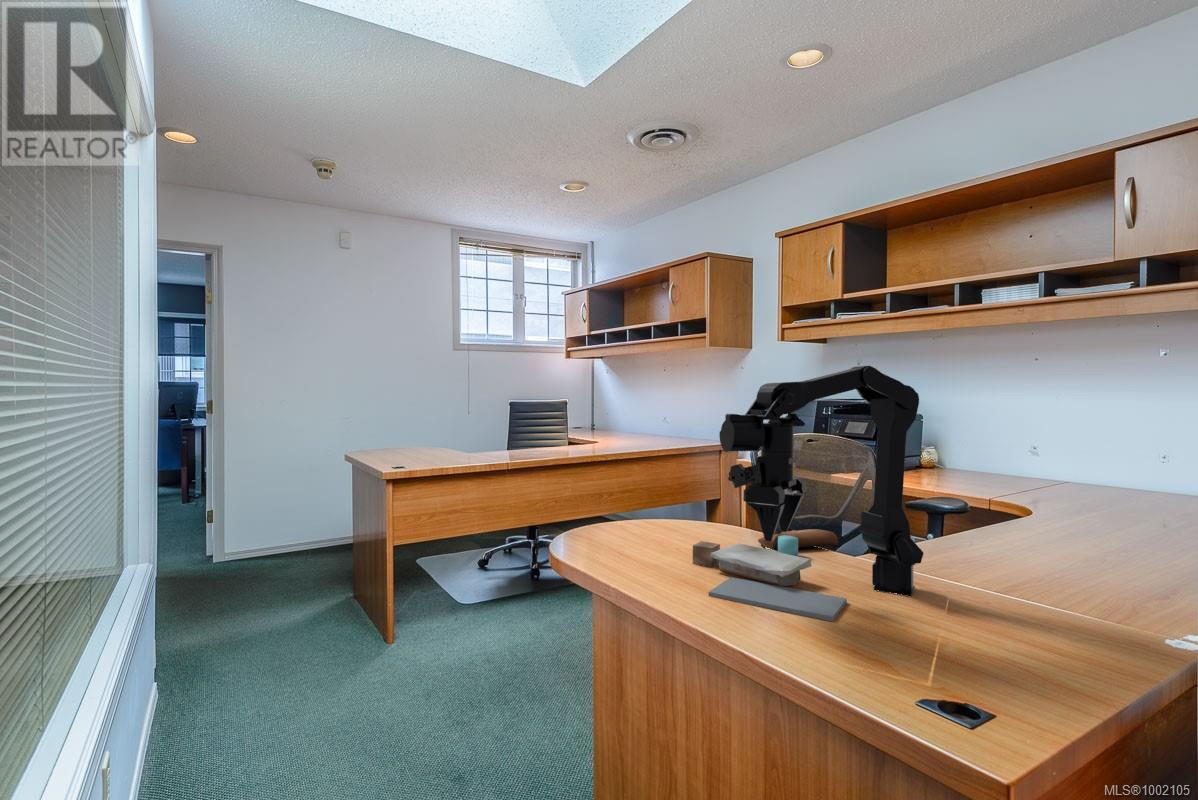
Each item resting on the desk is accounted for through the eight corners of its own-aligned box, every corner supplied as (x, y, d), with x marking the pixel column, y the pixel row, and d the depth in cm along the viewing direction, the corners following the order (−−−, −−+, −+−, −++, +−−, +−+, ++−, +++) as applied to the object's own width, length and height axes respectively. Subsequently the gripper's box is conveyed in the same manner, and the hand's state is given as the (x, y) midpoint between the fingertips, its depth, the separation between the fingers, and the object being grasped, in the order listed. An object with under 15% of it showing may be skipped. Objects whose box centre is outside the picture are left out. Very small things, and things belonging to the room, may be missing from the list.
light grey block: (739, 562, 131) (710, 573, 125) (738, 541, 131) (709, 551, 125) (813, 582, 117) (784, 595, 111) (812, 558, 117) (783, 570, 111)
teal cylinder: (800, 556, 138) (800, 537, 138) (795, 560, 134) (795, 540, 134) (780, 553, 141) (780, 534, 141) (775, 557, 137) (775, 538, 137)
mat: (846, 602, 106) (846, 598, 106) (832, 621, 97) (832, 616, 97) (730, 581, 119) (730, 577, 119) (708, 596, 110) (708, 591, 110)
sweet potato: (816, 535, 153) (826, 518, 149) (830, 557, 147) (841, 540, 143) (755, 539, 147) (764, 522, 144) (767, 562, 142) (777, 545, 138)
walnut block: (719, 564, 131) (719, 544, 131) (711, 568, 128) (711, 548, 128) (701, 560, 134) (701, 541, 134) (692, 565, 130) (692, 545, 130)
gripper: (751, 445, 120) (751, 522, 120) (715, 452, 105) (714, 539, 105) (807, 448, 114) (807, 529, 114) (778, 455, 99) (777, 549, 99)
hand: (776, 536), depth 108 cm, fingers open, 9 cm apart
